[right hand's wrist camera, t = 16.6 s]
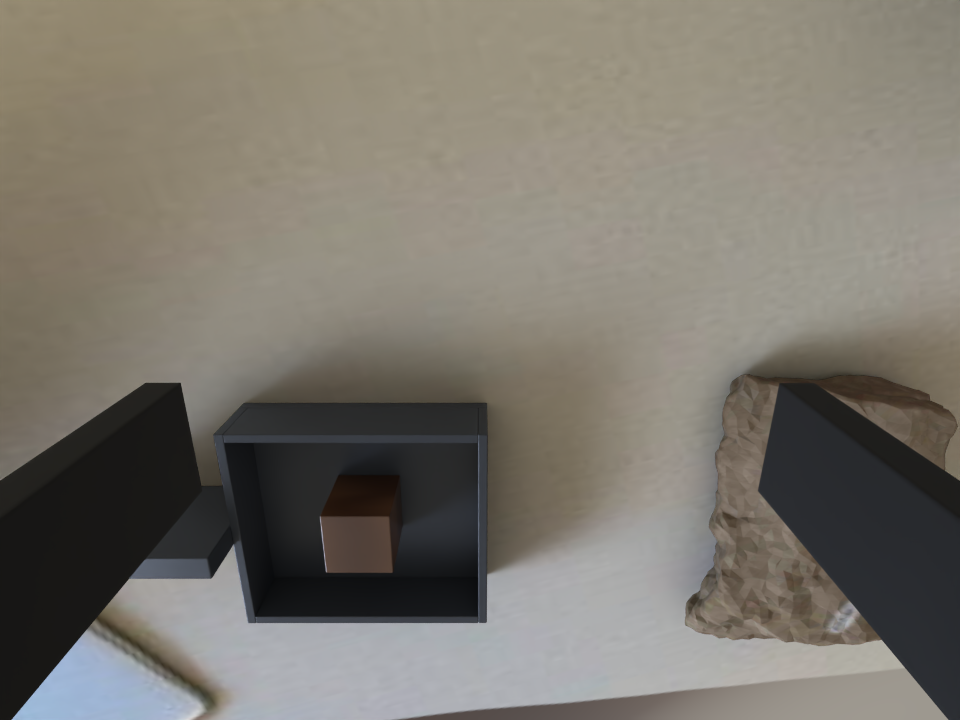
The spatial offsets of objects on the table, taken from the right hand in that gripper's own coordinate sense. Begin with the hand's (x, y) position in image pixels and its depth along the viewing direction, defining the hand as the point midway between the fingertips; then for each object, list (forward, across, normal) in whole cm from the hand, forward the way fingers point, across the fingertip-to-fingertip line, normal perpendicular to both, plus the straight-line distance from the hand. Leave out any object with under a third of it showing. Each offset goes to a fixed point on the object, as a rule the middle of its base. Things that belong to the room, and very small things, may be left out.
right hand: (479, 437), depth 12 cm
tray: (+25, +13, +18) cm, 33 cm away
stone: (+25, -23, +18) cm, 38 cm away
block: (+24, +8, +18) cm, 31 cm away
